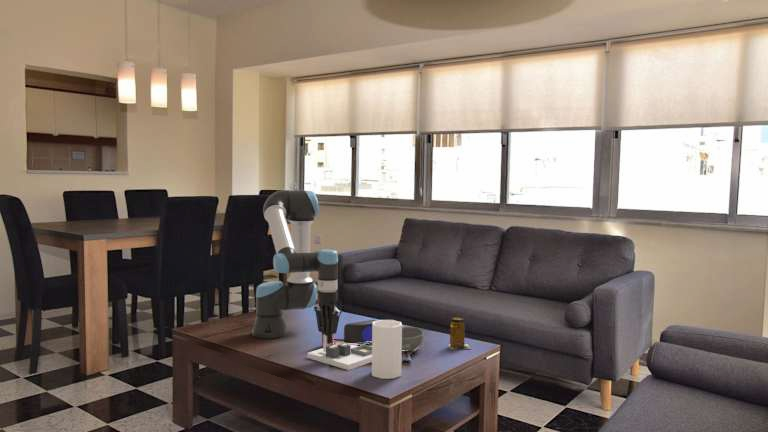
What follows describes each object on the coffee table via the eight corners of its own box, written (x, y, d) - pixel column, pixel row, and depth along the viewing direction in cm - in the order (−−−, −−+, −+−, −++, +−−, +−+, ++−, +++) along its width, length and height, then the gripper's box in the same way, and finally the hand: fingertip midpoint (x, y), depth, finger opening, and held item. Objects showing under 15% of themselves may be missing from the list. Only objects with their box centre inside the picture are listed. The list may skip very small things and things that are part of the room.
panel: (307, 357, 221) (307, 349, 221) (343, 346, 236) (343, 338, 236) (348, 370, 207) (348, 360, 207) (383, 357, 222) (383, 349, 222)
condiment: (448, 344, 242) (448, 316, 242) (468, 344, 242) (468, 317, 242) (450, 349, 235) (450, 320, 234) (470, 349, 235) (471, 321, 234)
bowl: (373, 353, 228) (374, 334, 227) (388, 342, 244) (388, 324, 244) (416, 358, 222) (416, 338, 221) (428, 347, 238) (429, 328, 238)
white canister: (366, 376, 200) (366, 325, 199) (377, 367, 210) (378, 318, 209) (395, 381, 196) (396, 328, 195) (406, 371, 206) (406, 321, 205)
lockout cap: (319, 346, 236) (319, 325, 236) (327, 344, 240) (327, 322, 239) (327, 349, 233) (327, 327, 232) (336, 346, 237) (336, 324, 236)
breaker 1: (325, 356, 216) (325, 346, 216) (331, 354, 219) (331, 344, 219) (333, 358, 214) (333, 348, 214) (338, 356, 216) (338, 346, 216)
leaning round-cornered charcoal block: (348, 348, 234) (348, 326, 234) (343, 345, 238) (343, 323, 238) (381, 342, 244) (381, 321, 243) (375, 340, 247) (375, 318, 247)
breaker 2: (337, 354, 219) (337, 344, 219) (342, 352, 222) (342, 342, 222) (344, 356, 217) (345, 346, 217) (350, 354, 219) (350, 344, 219)
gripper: (308, 289, 218) (308, 349, 219) (332, 294, 210) (332, 356, 211) (322, 286, 224) (322, 345, 225) (346, 291, 215) (346, 352, 217)
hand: (327, 351), depth 218 cm, fingers closed
